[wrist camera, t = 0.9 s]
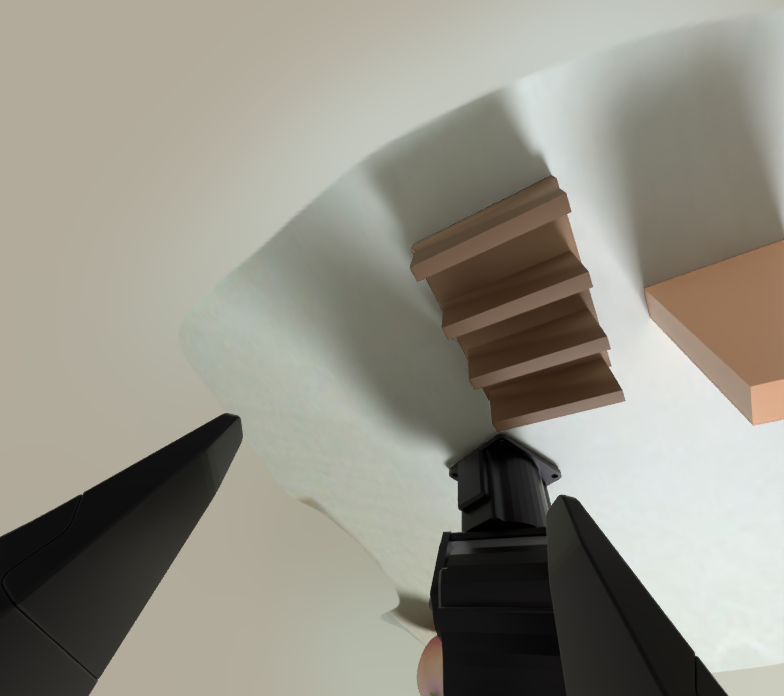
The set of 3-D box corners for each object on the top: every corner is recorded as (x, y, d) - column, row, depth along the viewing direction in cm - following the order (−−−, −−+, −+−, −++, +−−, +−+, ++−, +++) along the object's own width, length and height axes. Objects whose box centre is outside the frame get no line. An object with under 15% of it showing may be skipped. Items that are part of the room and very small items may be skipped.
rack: (605, 356, 22) (631, 399, 18) (487, 390, 25) (492, 433, 21) (551, 175, 17) (574, 189, 14) (413, 244, 20) (404, 270, 16)
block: (785, 274, 18) (1000, 377, 11) (649, 317, 20) (752, 425, 13) (785, 239, 17) (1018, 325, 10) (644, 288, 19) (750, 386, 12)
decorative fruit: (407, 621, 49) (396, 722, 41) (449, 611, 45) (446, 720, 37) (453, 647, 52) (452, 747, 44) (497, 639, 48) (505, 747, 40)
